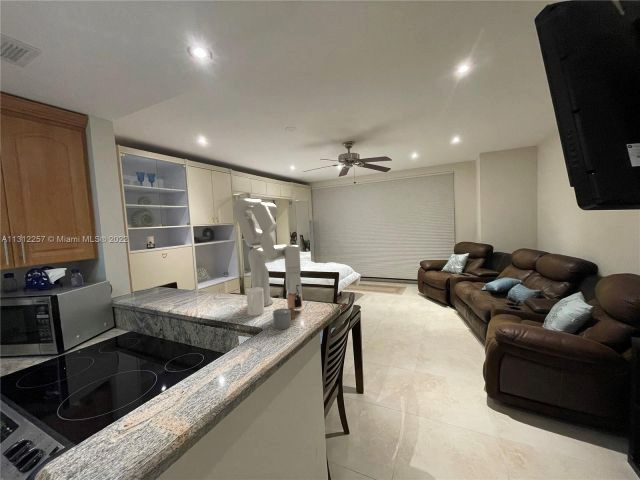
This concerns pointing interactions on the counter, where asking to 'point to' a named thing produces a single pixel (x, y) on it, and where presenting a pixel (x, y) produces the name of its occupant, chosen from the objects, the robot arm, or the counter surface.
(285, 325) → the cup charcoal
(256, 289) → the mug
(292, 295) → the cup terracotta
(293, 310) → the letter cube
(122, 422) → the counter surface
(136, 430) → the counter surface
